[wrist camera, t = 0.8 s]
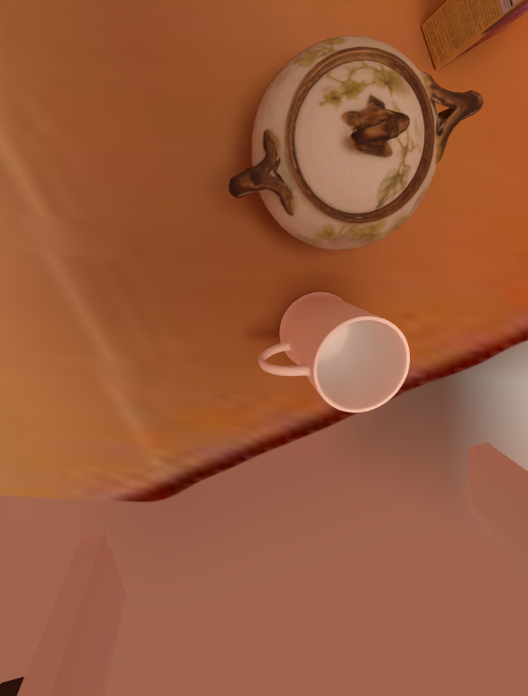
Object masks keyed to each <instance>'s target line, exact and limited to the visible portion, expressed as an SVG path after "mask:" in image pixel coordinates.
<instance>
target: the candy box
mask: <svg viewBox="0 0 528 696" xmlns="http://www.w3.org/2000/svg"><path fill="white" fill-rule="evenodd" d="M527 13H528V0H445V2H444V3H443V4H442V5H441V6H440V7H439V8H438V9H437V10H436V11H435V12H434V13H433V14H432V15H431V16H430V17H429V18H428V19H427V20H426V21H425V22H424V23H423V24H422V26H421V28H422V30H423V34H424V37H425V40H426V43H427V46H428V49H429V52H430V55H431V58H432V62H433V65H434V67H435V70H437V69H439V68H441V67H442V66H444V65H446V64H447V63H449V62H451V61H452V60H454V59H456V58H457V57H459V56H460V55H462V54H464V53H465V52H467V51H469V50H470V49H472V48H473V47H475V46H477V45H478V44H480V43H481V42H483V41H485V40H486V39H488V38H490V37H491V36H493V35H495V34H497V33H498V32H500V31H502V30H503V29H505V28H507V27H508V26H510V25H512V24H513V23H515V22H516V21H517V20H519V19H520V18H521V17H523V16H524V15H525V14H527Z"/></svg>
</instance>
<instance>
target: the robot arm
mask: <svg viewBox="0 0 528 696" xmlns="http://www.w3.org/2000/svg"><path fill="white" fill-rule="evenodd" d="M466 497H467V498H466V507H467V508H468V509H469V510H470V511H471V512H472V513H473V514H474V515H475V516H476V517H477V518H478V519H479V520H480V521H481V522H482V523H483V524H484V525H485V527H487V529H488V530H489V531H490V532H491V533H492V534H493V535H494V536H495V537H496V538H497V539H498V540H499V541H500V542H501V543H502V544H503V545H504V546H505V547H506V548H507V549H508V550H509V551H510V552H511V553H512V554H513V555H514V556H515V557H516V558H517V559H518V560H519V561H520V562H521V563H522V564H523V565H524V566H525V567H526V568H527V569H528V471H526V470H525V469H523V468H522V467H521V466H519V465H518V464H517V463H515V462H514V461H512V460H511V459H510V458H508V457H507V456H505V455H504V454H503V453H501V452H500V451H498V450H497V449H496V448H494V447H493V446H491V445H490V444H489V443H483V444H479V445H475V446H471V447H469V449H468V474H467V496H466ZM126 594H127V592H126V590H125V587H124V584H123V581H122V578H121V576H120V573H119V570H118V567H117V564H116V562H115V559H114V556H113V553H112V550H111V548H110V545H109V542H108V539H107V537H106V534H105V532H104V533H99V534H96V535H91V536H87V537H82V538H81V539H80V541H79V544H78V546H77V549H76V552H75V554H74V556H73V559H72V561H71V564H70V566H69V569H68V571H67V573H66V576H65V578H64V581H63V584H62V586H61V588H60V591H59V593H58V596H57V598H56V601H55V603H54V605H53V608H52V610H51V613H50V615H49V618H48V620H47V623H46V625H45V628H44V630H43V633H42V635H41V638H40V640H39V642H38V645H37V648H36V650H35V652H34V655H33V657H32V660H31V662H30V665H29V667H28V670H27V672H26V674H25V677H21V678H17V679H14V680H10V681H7V682H3V683H1V684H0V696H105V692H106V687H107V682H108V678H109V673H110V668H111V664H112V659H113V655H114V650H115V645H116V640H117V636H118V631H119V627H120V622H121V617H122V613H123V608H124V603H125V598H126Z"/></svg>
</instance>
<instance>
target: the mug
mask: <svg viewBox="0 0 528 696" xmlns="http://www.w3.org/2000/svg"><path fill="white" fill-rule="evenodd" d="M279 335H280V342H281V343H279V344H276V345H273V346H271V347H269V348H267V349H265V350H264V351H263V352H262V353H261V354H260V355H259V365H260V367H261V368H262V369H263V370H264V371H266V372H268V373H271V374H275V375H282V376H302V375H305V376H306V377H307V378H308V379H309V381H310V382H311V383H312V385H313V386H314V387H315V389H316V390H317V391H318V393H319V394H320V395H321V396H322V398H323V399H324V400H325V401H326V402H327V403H329V404H330V405H331V406H333V407H335V408H337V409H339V410H342V411H346V412H364V411H369V410H372V409H374V408H377V407H379V406H381V405H382V404H384V403H385V402H387V401H388V400H389V399H390V398H392V397H393V396H394V395H395V394H396V392H397V391H398V390H399V389H400V387H401V386H402V384H403V382H404V380H405V378H406V376H407V373H408V369H409V363H410V352H409V347H408V343H407V341H406V339H405V337H404V335H403V333H402V332H401V331H400V330H399V329H398V328H397V327H396V326H395V325H394V324H393V323H391V322H389V321H388V320H386V319H383V318H381V317H379V316H376V315H374V314H372V313H370V312H367V311H365V310H363V309H360V308H358V307H356V306H353V305H351V304H349V303H346V302H345V301H344V300H342V299H341V298H340V297H338V296H336V295H334V294H331V293H327V292H313V293H309V294H306V295H304V296H302V297H300V298H298V299H297V300H296V301H294V302H293V303H292V304H291V305H290V306H289V307H288V309H287V310H286V312H285V313H284V315H283V318H282V320H281V324H280V331H279ZM281 351H285V353H286V354H287V356H288V357H289V358H290V359H291V360H293V361H294V362H295V363H296V364H297V365H296V366H278V365H272V364H269V363H266V362H265V360H266V359H267V358H268V357H269V356H271V355H273V354H275V353H278V352H281Z"/></svg>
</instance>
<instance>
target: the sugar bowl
mask: <svg viewBox="0 0 528 696" xmlns="http://www.w3.org/2000/svg"><path fill="white" fill-rule="evenodd" d="M434 101H435V102H436V103H438V104H441V105H443V106H447V107H450V108H449V109H446V110H444V111H442V112H440V113H437V109H436V105H435V102H434ZM482 104H483V98H482V96H481V95H480V94H479V93H477V92H475V91H472V90H471V91H468V92H465V93H457V92H451V91H447V90H445V89H443V88H441V87H440V86H439V85H438V84H436V82H435V81H434V79H433V78H432V77H431V76H430V75H429V74H427V73H425V72H421V71H419V70H418V69H417V68H416V66H415V65H414V64H413V63H412V62H411V61H410V60H409V59H408V58H407V57H406V56H405V55H403V54H402V53H401V52H400V51H398V50H397V49H396V48H394V47H392V46H391V45H389V44H387V43H384V42H381V41H378V40H375V39H372V38H368V37H362V36H342V37H336V38H332V39H327V40H324V41H321V42H318V43H316V44H314V45H312V46H310V47H308V48H306V49H305V50H303V51H302V52H300V53H299V54H298V55H296V56H295V57H293V58H292V59H291V60H290V61H289V62H288V63H287V64H286V65H285V66H284V67H283V68H282V69H281V70H280V71H279V72H278V74H277V75H276V76H275V78H274V79H273V80H272V82H271V83H270V85H269V87H268V88H267V90H266V92H265V94H264V96H263V99H262V101H261V103H260V105H259V108H258V111H257V114H256V118H255V122H254V127H253V133H252V168H249V169H247V170H246V171H244V172H242V173H240V174H238V175H236V176H234V177H232V178H231V180H230V184H229V191H230V193H231V194H232V195H233V196H235V197H236V198H241V197H243V196H246V195H249V194H252V193H255V192H259V194H260V196H261V198H262V200H263V202H264V204H265V206H266V207H267V209H268V210H269V212H270V214H271V215H272V216H273V217H274V219H275V220H276V221H277V222H278V223H279V225H280V226H282V227H283V228H284V229H285V230H286V231H287V232H288V233H290V234H291V235H292V236H294V237H295V238H297V239H299V240H301V241H303V242H305V243H307V244H309V245H312V246H315V247H318V248H323V249H329V250H349V249H355V248H360V247H364V246H367V245H370V244H372V243H375V242H377V241H380V240H381V239H383V238H385V237H386V236H388V235H390V234H391V233H392V232H394V231H395V230H396V229H398V228H399V227H400V226H401V225H402V224H403V223H405V222H406V221H407V220H408V218H409V217H410V216H411V215H412V214H413V213H414V212H415V210H416V209H417V208H418V206H419V205H420V203H421V202H422V200H423V198H424V196H425V194H426V193H427V191H428V189H429V187H430V185H431V182H432V179H433V176H434V172H435V168H436V165H437V163H438V162H439V161H440V159H441V157H442V155H443V153H444V150H445V146H446V143H447V140H448V137H449V135H450V133H451V131H452V130H453V128H454V127H455V126H456V125H457V124H458V123H459V122H460V121H461V120H463V119H465V118H467V117H469V116H471V115H473V114H474V113H476V112H477V111H479V110H480V108H481V107H482Z"/></svg>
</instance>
